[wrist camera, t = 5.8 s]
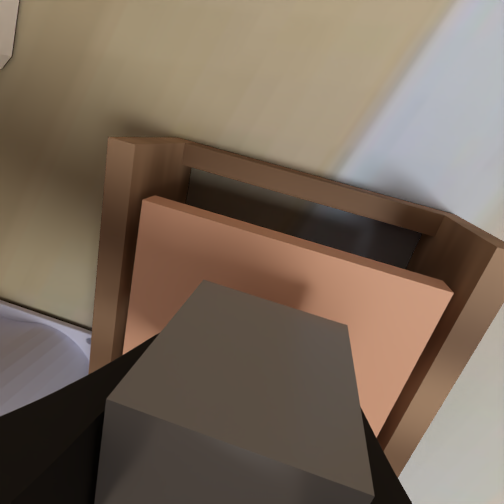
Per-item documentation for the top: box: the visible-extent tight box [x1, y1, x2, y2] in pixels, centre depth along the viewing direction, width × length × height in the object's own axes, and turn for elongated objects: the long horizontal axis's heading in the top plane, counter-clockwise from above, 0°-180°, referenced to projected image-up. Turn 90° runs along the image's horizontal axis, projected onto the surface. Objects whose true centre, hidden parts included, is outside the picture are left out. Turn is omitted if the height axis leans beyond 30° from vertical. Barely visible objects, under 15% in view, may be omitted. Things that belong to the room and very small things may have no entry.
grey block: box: [94, 280, 375, 504], centre depth 8 cm, size 4×4×5 cm
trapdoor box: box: [88, 137, 504, 478], centre depth 17 cm, size 19×14×6 cm
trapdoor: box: [123, 195, 454, 438], centre depth 15 cm, size 16×11×2 cm
